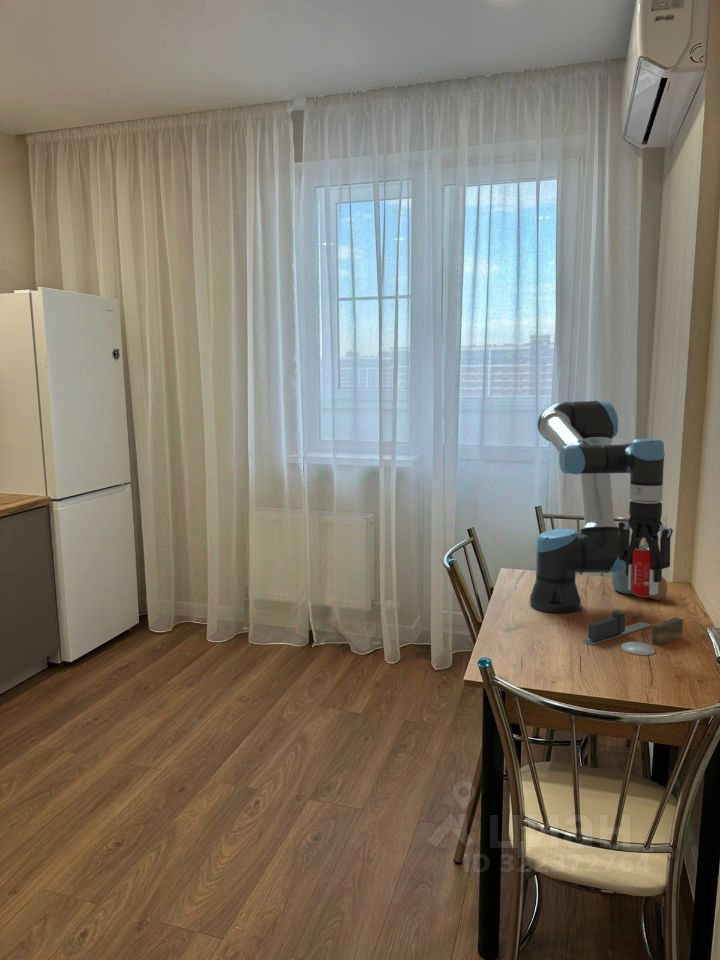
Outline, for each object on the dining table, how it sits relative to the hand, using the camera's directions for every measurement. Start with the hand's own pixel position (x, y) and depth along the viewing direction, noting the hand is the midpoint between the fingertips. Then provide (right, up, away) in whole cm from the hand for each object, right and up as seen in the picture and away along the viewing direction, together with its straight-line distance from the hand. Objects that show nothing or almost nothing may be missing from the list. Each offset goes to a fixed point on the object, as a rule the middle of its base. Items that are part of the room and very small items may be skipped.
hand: (642, 591), depth 169 cm
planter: (+17, -9, +49) cm, 53 cm away
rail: (-2, -14, +12) cm, 18 cm away
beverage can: (0, -1, 0) cm, 1 cm away
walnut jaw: (+9, -14, +7) cm, 18 cm away
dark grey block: (-6, -14, +10) cm, 18 cm away
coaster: (-1, -15, +1) cm, 15 cm away
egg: (+21, -10, +40) cm, 47 cm away
